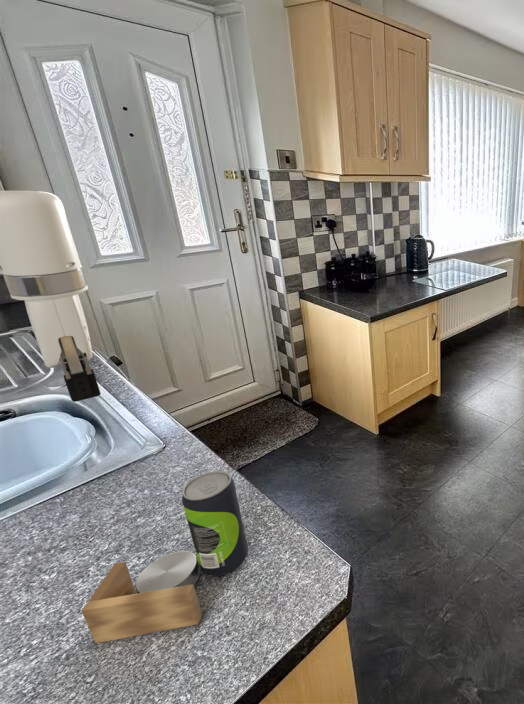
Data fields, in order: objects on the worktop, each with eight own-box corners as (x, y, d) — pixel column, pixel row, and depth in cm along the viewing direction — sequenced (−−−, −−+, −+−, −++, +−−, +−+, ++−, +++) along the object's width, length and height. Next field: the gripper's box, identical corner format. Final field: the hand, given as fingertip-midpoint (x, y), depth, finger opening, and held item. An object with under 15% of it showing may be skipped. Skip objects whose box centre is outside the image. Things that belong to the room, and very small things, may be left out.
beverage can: (256, 559, 66) (240, 482, 61) (210, 587, 61) (189, 507, 56) (239, 537, 69) (222, 463, 64) (194, 563, 65) (173, 485, 60)
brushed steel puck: (128, 612, 57) (123, 599, 57) (155, 567, 64) (151, 555, 63) (188, 601, 59) (184, 588, 58) (207, 558, 66) (204, 546, 65)
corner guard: (95, 643, 54) (81, 610, 52) (126, 593, 60) (114, 562, 58) (198, 624, 56) (189, 592, 54) (218, 578, 63) (210, 548, 61)
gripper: (8, 275, 61) (49, 387, 67) (6, 300, 52) (54, 427, 58) (80, 268, 66) (112, 372, 72) (90, 290, 57) (126, 407, 63)
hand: (86, 396), depth 65 cm, fingers closed
